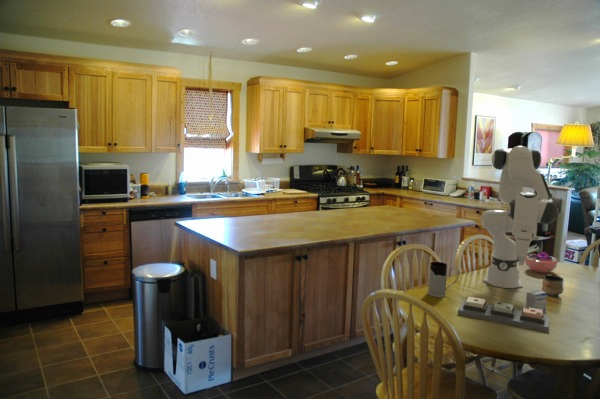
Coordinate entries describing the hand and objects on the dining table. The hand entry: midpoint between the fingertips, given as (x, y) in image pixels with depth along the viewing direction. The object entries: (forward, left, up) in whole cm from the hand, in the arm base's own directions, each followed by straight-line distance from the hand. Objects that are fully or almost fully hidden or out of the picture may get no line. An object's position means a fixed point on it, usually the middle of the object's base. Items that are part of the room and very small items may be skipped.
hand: (521, 264), depth 184 cm
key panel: (+1, -5, -23) cm, 24 cm away
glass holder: (-15, -33, -24) cm, 43 cm away
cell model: (-88, +8, -24) cm, 91 cm away
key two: (+1, -5, -20) cm, 21 cm away
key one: (+1, -16, -20) cm, 26 cm away
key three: (+1, +6, -20) cm, 21 cm away
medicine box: (-15, +7, -24) cm, 29 cm away
